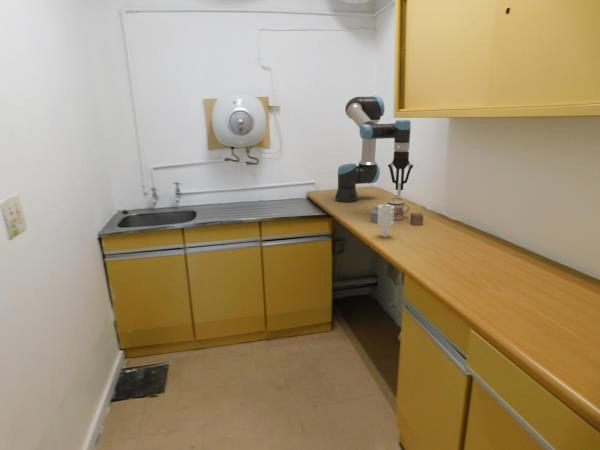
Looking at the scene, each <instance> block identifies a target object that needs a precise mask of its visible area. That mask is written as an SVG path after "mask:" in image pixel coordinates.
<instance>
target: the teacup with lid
mask: <svg viewBox="0 0 600 450" xmlns="http://www.w3.org/2000/svg"><path fill="white" fill-rule="evenodd" d="M386 203H387V204H386V205H392V206H394V220H393V221H395V220H396V221H398V220H399V221H400V220H401V221H402V220H403V219H404V215H405V214H407V213H408V212H410V205H408V204H405V203H406V202H405V201H404V200H403V199H400V198H399V197H397V196H394V197H393V198H391V199H389V200H387V202H386ZM405 207H407V209H406V211H405ZM391 211H392V210H391Z"/></svg>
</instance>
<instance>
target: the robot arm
mask: <svg viewBox="0 0 600 450" xmlns="http://www.w3.org/2000/svg"><path fill="white" fill-rule="evenodd" d="M345 115H346V116H347V117H348V118H349V119H351V120H352V121H353V122H354V123H355V125H356V126H357V127H358V128H359V136H360V138H361V140H362V142H361V143H362V147H361V159H360V161H359V162H358V165H357V164H356V163H346V164H342V165H340V166H338V169H337V191H336V193H335V196H334V200H335V201H336V202H339V203H354V202H357V201H359V195H358V191H357V189H356V187H357V185H359V184H360V185H361V184H375V183H377V181H378V180H379V178H380V174H381V173H380V172H381V171H380V166H379V165H378V163H377V161H376V150H377V149H376V146H377V145H376V144H377V140H378V139H381V140H382V139H394V141H393V142H394V145H393V150H394V152H393V160H392V162H391V163H389V164H388V165H387V166H388V169H389V171H390V176H391V182H392V183H393V184H395V190H396V191H397V194H396V195H397V196H396V197H398V198H399V197H401V195H402V193H401V192H402V191H403V190H404V185H405V184H407V182H408V179H409V177H410V173H411V170H412V169H413V168H414V164H411V163H410V160H409V158H410V157H409V156H410V155H409V154H410V152H409V151H410V138H411V120H410V119H396V121H395V122H394V123H378V122H379V121H380V120H381V117H383V116H384V115H385V103H384V100H383V99H382V97H380V96H355V97H353V98H351V99H350V100H348V101H347V103H346V104H345ZM394 168H395V169H396V171H395V172H396V173H394ZM406 168H408V170H407V172H406V176H405V169H406ZM400 172H401V174H400ZM400 175H401V176H400ZM399 177H400V178H399ZM404 178H405V179H404ZM399 179H400V182H399Z"/></svg>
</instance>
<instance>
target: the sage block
mask: <svg viewBox="0 0 600 450" xmlns="http://www.w3.org/2000/svg"><path fill="white" fill-rule="evenodd" d="M379 205H383V204H372V212H373V211H378V206H379ZM382 208H386V207H382ZM381 211H383V210H381Z"/></svg>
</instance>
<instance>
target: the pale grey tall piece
mask: <svg viewBox="0 0 600 450" xmlns="http://www.w3.org/2000/svg"><path fill="white" fill-rule="evenodd" d="M382 207H385V208H382ZM381 210H383V211H381ZM391 210H392V211H391ZM394 221H395V220H394V206H392V205H387V204H382V205H379V206H378V223H377V225H378V226H380V227H381V237H382V236H384V237H383V238H388V237H389V227H393V226H394ZM387 236H388V237H387Z"/></svg>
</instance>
